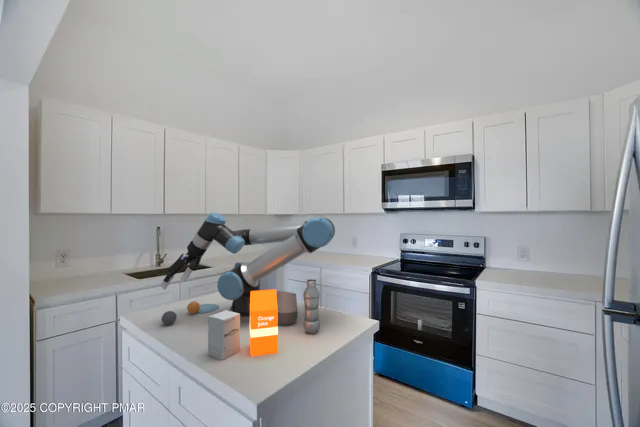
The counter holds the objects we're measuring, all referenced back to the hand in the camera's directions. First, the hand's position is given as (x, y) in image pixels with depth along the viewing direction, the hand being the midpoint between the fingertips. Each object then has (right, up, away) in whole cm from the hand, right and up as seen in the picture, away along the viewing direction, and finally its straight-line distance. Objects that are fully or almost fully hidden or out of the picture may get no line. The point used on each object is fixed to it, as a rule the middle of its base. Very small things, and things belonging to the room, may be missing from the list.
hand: (173, 283), depth 123 cm
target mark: (+8, -16, +13) cm, 22 cm away
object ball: (+6, -13, +6) cm, 15 cm away
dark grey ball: (+2, -13, -7) cm, 15 cm away
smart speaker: (+51, -16, -5) cm, 53 cm away
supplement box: (+33, -15, -31) cm, 48 cm away
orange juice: (+46, -15, -29) cm, 56 cm away
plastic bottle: (+61, -15, -14) cm, 65 cm away
